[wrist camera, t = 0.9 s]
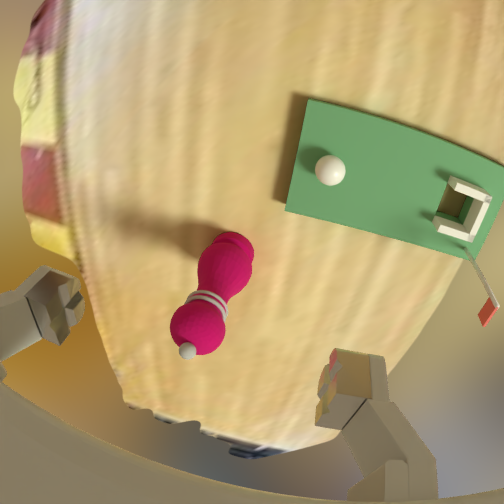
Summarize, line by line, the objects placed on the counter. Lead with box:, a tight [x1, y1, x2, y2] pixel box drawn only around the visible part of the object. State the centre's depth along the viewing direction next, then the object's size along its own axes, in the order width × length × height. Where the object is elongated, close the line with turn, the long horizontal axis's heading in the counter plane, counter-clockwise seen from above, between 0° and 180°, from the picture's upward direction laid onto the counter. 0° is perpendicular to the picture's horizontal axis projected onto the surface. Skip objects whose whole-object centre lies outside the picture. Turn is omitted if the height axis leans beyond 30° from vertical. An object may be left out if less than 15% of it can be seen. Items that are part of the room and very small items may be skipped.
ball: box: [315, 155, 346, 186], centre depth 34 cm, size 3×3×3 cm
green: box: [285, 98, 504, 327], centre depth 31 cm, size 16×28×14 cm, turn 82°
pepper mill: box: [170, 232, 254, 359], centre depth 39 cm, size 7×7×20 cm
